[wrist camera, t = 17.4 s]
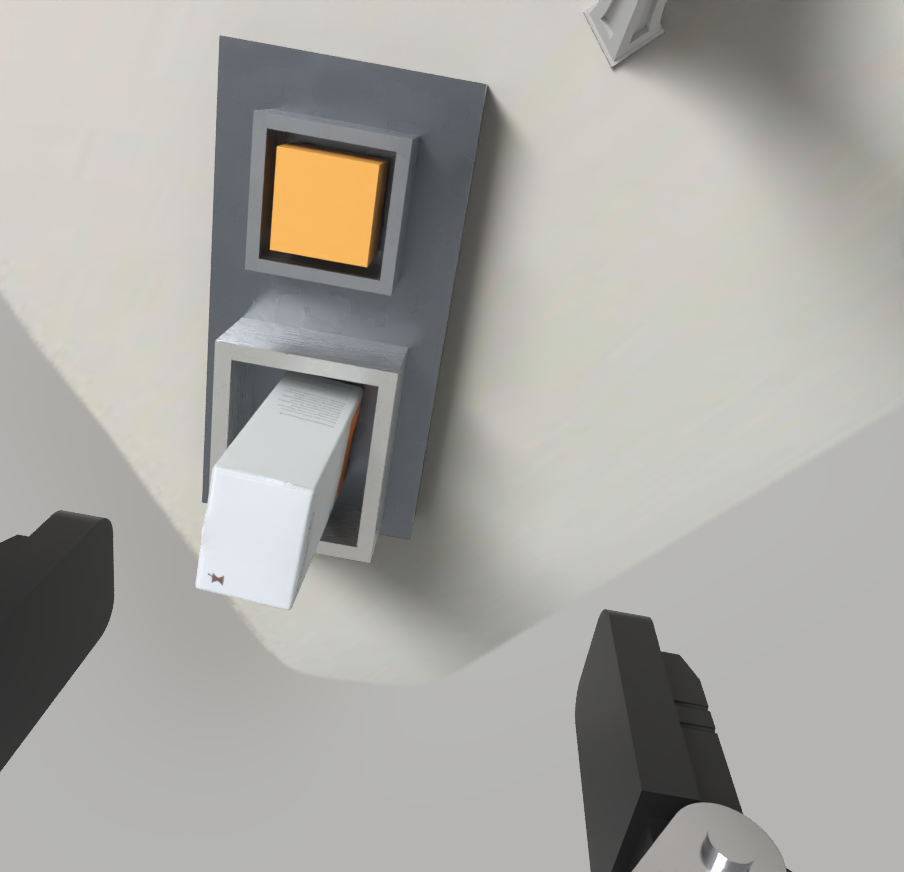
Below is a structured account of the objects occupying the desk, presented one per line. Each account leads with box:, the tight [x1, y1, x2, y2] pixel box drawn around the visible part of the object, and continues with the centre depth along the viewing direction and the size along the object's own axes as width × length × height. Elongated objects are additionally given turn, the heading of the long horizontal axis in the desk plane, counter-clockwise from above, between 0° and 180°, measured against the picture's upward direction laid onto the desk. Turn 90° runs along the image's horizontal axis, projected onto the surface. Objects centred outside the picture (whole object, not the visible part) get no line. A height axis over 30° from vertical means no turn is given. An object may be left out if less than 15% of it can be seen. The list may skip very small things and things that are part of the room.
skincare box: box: [196, 370, 364, 610], centre depth 36 cm, size 6×4×12 cm
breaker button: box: [270, 142, 389, 267], centre depth 35 cm, size 4×4×3 cm
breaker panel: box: [202, 36, 488, 563], centre depth 39 cm, size 12×24×6 cm, turn 170°
